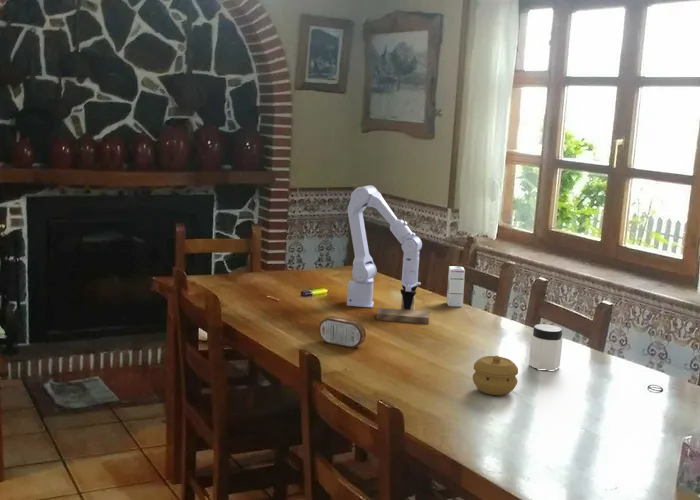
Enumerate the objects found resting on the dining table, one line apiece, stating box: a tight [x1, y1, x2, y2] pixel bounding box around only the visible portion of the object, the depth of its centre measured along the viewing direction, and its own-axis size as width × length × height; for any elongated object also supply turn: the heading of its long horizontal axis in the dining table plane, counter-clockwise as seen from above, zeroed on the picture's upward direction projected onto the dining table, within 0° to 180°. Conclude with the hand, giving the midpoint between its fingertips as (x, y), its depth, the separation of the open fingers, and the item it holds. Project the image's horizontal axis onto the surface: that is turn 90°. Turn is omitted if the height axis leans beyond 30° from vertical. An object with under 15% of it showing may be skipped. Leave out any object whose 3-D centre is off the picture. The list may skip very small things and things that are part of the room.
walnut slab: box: [376, 307, 430, 325], centre depth 284 cm, size 18×9×2 cm, turn 83°
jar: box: [528, 323, 564, 370], centre depth 237 cm, size 9×8×12 cm
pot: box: [472, 355, 519, 396], centre depth 214 cm, size 12×12×10 cm
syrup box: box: [446, 265, 466, 308], centre depth 307 cm, size 6×6×14 cm
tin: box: [318, 315, 367, 349], centre depth 248 cm, size 15×3×8 cm, turn 65°
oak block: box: [400, 295, 416, 311], centre depth 293 cm, size 4×4×6 cm
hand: (407, 306), depth 293 cm, fingers open, 7 cm apart
